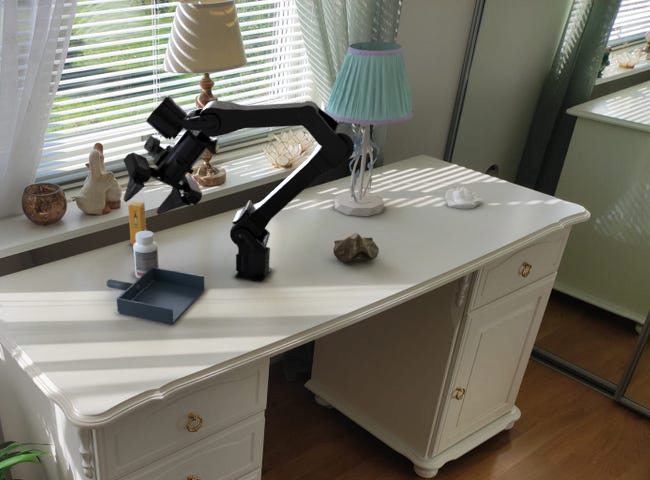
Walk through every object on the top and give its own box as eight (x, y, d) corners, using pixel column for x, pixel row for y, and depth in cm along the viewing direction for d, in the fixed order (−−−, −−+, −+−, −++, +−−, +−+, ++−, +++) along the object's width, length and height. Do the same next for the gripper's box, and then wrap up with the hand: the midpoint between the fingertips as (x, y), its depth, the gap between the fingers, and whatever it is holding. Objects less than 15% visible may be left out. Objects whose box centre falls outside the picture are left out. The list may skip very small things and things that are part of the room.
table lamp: (339, 188, 204) (352, 36, 182) (412, 202, 193) (436, 42, 171) (303, 212, 189) (312, 49, 168) (380, 229, 179) (401, 58, 157)
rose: (441, 180, 194) (478, 180, 194) (439, 196, 196) (474, 196, 196) (452, 193, 186) (490, 193, 185) (449, 210, 188) (487, 209, 188)
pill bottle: (163, 276, 160) (161, 235, 154) (142, 282, 157) (139, 241, 152) (151, 267, 163) (148, 227, 158) (130, 273, 161) (127, 232, 156)
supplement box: (148, 240, 176) (145, 201, 171) (142, 246, 173) (140, 206, 168) (135, 239, 177) (132, 200, 172) (130, 244, 174) (127, 205, 169)
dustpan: (204, 290, 153) (204, 276, 151) (172, 324, 141) (171, 309, 139) (125, 275, 160) (124, 261, 158) (88, 307, 148) (86, 292, 146)
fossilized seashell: (377, 241, 166) (334, 245, 168) (377, 224, 160) (331, 229, 163) (380, 268, 163) (335, 272, 165) (379, 251, 157) (333, 256, 159)
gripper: (205, 145, 158) (163, 195, 167) (139, 112, 146) (97, 168, 154) (221, 179, 152) (177, 228, 161) (154, 147, 140) (110, 203, 148)
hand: (141, 206), depth 156 cm, fingers open, 9 cm apart
